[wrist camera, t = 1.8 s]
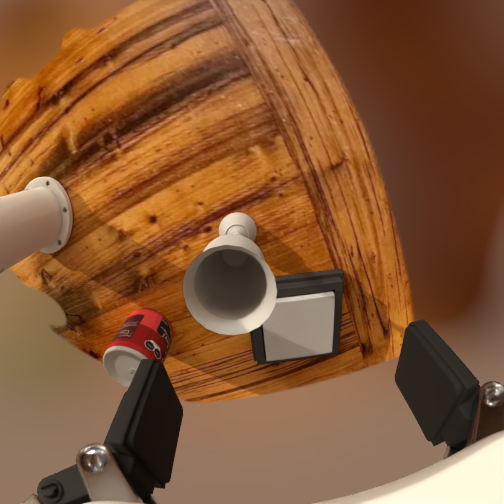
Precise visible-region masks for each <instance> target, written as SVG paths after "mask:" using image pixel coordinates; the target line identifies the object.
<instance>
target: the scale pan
mask: <svg viewBox="0 0 504 504" xmlns="http://www.w3.org/2000/svg"><path fill="white" fill-rule="evenodd" d="M334 307H335V295H334V293H333V292H332V290H331V291H323V292H316V293H308V294H300V295H292V296H283V297H276V302H275V306H274V308H273V310H272V312H271V314H270V316H269V318H268V319H267V320H266V321H265V322H264V323H263V332H264V341H265V350H266V360H267V361H274V360H282V359H290V358H298V357H305V356H312V355H318V354H324V353H330V352H332V345H333V328H334Z"/></svg>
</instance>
